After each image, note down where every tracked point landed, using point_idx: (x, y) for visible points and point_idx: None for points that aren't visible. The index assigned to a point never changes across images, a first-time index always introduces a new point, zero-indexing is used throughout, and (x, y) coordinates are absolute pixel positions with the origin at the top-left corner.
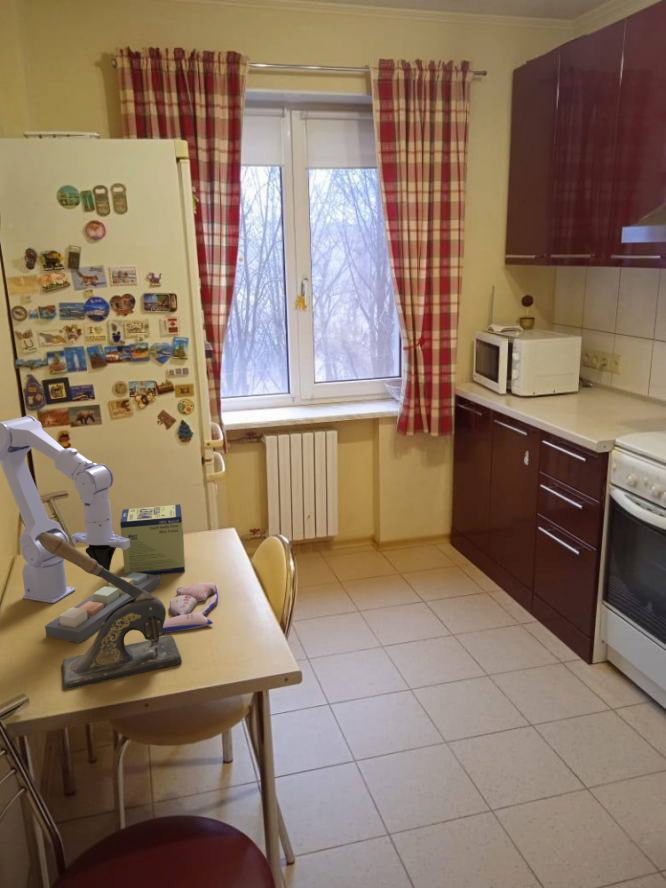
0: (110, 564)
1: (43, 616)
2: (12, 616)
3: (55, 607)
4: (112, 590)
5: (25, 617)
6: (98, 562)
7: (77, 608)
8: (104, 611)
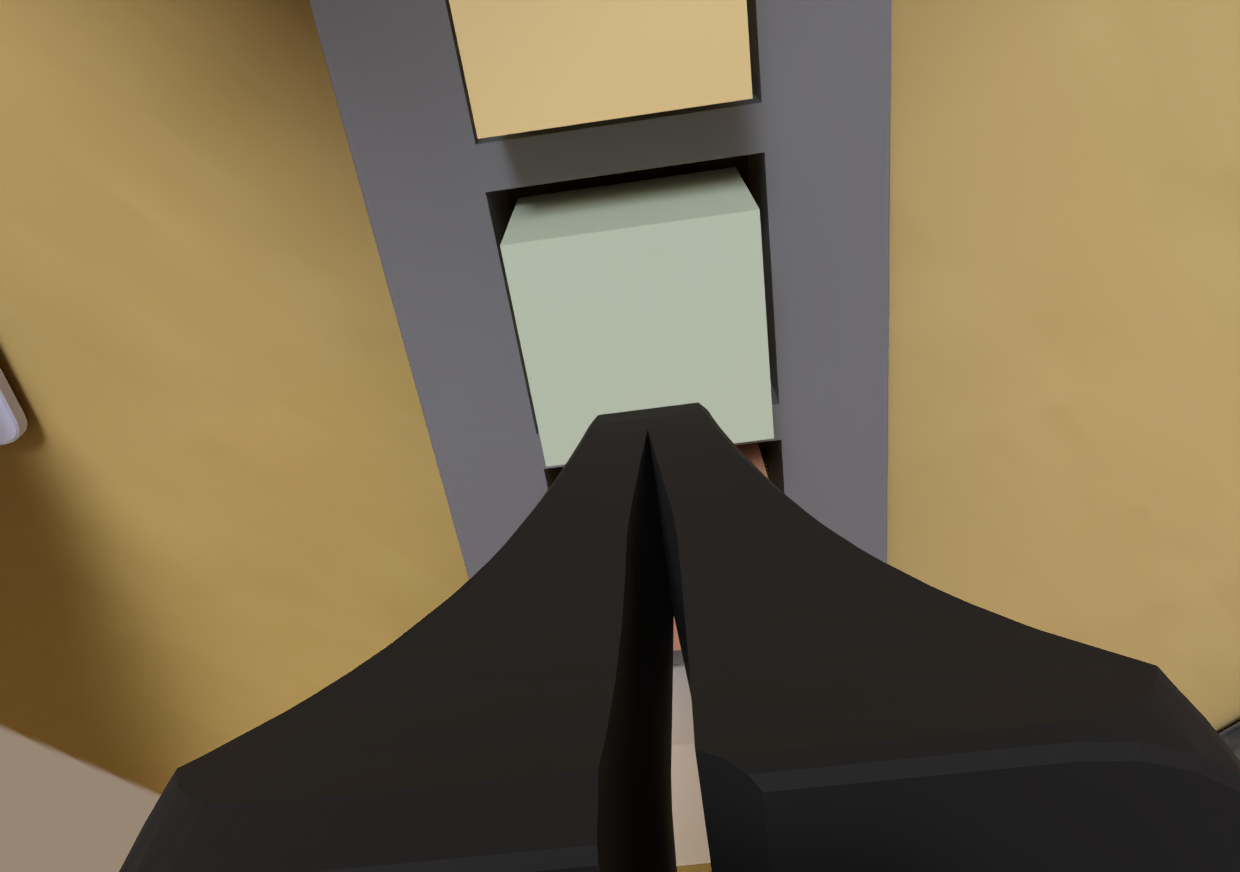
0: (752, 464)
1: (218, 609)
2: (4, 700)
3: (127, 462)
4: (720, 295)
5: (110, 673)
6: (669, 787)
7: (682, 748)
8: (842, 524)
